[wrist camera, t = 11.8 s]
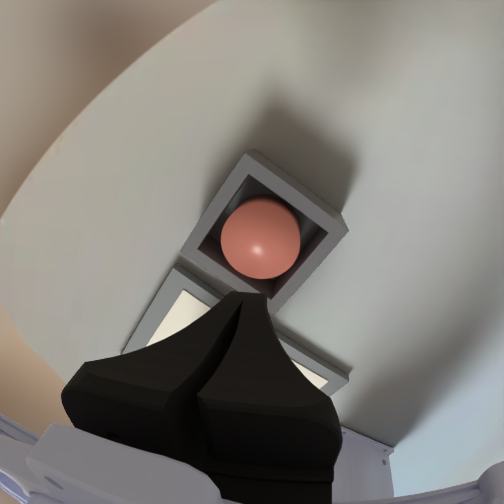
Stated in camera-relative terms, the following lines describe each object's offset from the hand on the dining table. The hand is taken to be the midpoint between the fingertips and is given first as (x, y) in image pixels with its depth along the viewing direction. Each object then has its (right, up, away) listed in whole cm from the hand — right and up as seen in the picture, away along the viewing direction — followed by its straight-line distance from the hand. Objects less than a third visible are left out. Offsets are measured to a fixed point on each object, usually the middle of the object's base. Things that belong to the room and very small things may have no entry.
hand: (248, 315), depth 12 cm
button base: (+1, +4, +9) cm, 10 cm away
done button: (+1, +4, +8) cm, 9 cm away
